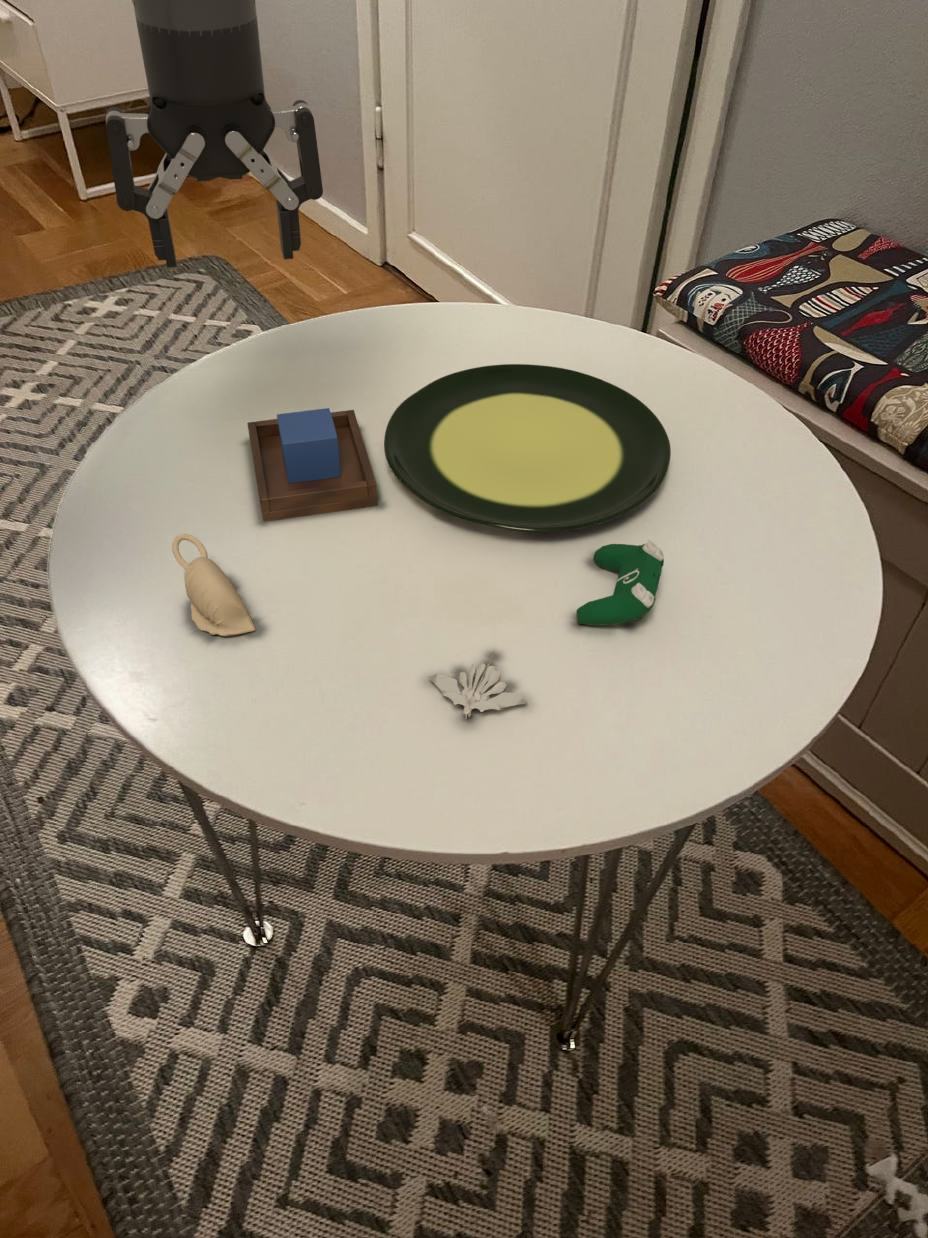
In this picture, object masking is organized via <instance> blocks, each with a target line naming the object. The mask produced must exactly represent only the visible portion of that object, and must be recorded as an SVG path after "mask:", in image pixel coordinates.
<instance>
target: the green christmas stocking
mask: <svg viewBox="0 0 928 1238" xmlns="http://www.w3.org/2000/svg"><path fill="white" fill-rule="evenodd" d="M664 556H665V555H664V553H663V551H662V550H661V548H660V547H659V546H658V545H657V544H656V543H654V542H653V541H652V540H650V539H649V540H647V542H646V543H643V544H638V545H635V544H625V543H610V544H605V545H602V546H601V547H600V548H598V549H597V550H595V552H594V553H593V560H594V563H595V564H596V565H597V566H598V567H600V568H602V569H605V570H609V571H612V572H617V573H618V576H617V579H616V583H615V587H614V589H613V590H614V591H613V594H612V595H609V596H605V597H601V598H598V599H594V600H590V601H588V602H586V603H584V604H583V605H581V606H579V607H578V608H577V609H576V616H577V618H576V619H577V623H578V624H580V625H587V626H612V625H619V624H626V623H630V622H632V621H635V620H636V621H639V620H641V619H642V618H643V616H644V615H646V614H647V613H648V612H650V611H651V610H652V608H653V607H654V605H655V602H656V598H655V597H656V594H657V592H658V588H659V584H660V580H661V576H662V572H663V571H662V570H663V567H664V565H665V564H664V563H665V557H664Z"/></svg>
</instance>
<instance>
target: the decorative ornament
mask: <svg viewBox="0 0 928 1238" xmlns="http://www.w3.org/2000/svg"><path fill="white" fill-rule="evenodd" d="M182 541H188V542H190V543H192V544H193V545H194V546H195V547H196V549H197V551H198V552H199V555H200V556H198V557H196V558H194V559H193V560H192V561H191V562H190V563H188V562H187V561H185V559H184V558H183V556H182V554H181V552H180V547H179V546H180V543H181V542H182ZM171 550H172V554H173V557H174V559H175V561H176V562H177V564H178V565H179V566H180V567H182V568H183V569H184V570H185V571H184V587H185V592H186V596H187V598H188V599H189V600H190V603H191V604H190V609H191V615H190V617H191V620H192V621H193V622H194V623H195V625H196V627H197V629H199V630H200V631H202V632H206V633H207V632H208V633H209V634H210V635H211V636H214V635H218V636H221V637H228V636H236V635H237V636H238V635H241V634H245V633H250V632H255V631H257V630H256V629H257V628H256V627H255V624H254V622H253V620H252V617H251V615H250V613H249V610H248V608H247V606H246V604H245V603H244V601H243V599H242V598H241V596H240V595H239V593H238V592H237V590H236V588H235V587H234V585H233V584H232V582H231V581H230V579H229V578H228V576H227V575H226V573H225V572H224V571H223V570H222V568H221V567H220V566H219V565H218V564H217V563H216V562H215V561H214V560H212V559H211V558H209V556H208V555H209V554H208V552H207V550H206V548H205V546H204V544H203V543H202V542H201V541H200V540H199V539H198V538H197V537H195V536H194V535H192V534H189V533H181V534H178V535H177V536H176V537H175V538H174V539H173V541H172V545H171Z"/></svg>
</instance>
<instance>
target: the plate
mask: <svg viewBox="0 0 928 1238" xmlns="http://www.w3.org/2000/svg"><path fill="white" fill-rule="evenodd" d="M383 449H384V456H385V459H386V462H387V464H388V466H389V468H390V470H391V471H392V472H393V474H394V475H395V476H396V478H397V479H398V481H399V482H400V483H401V484H402V485H403V486H404V487H405V488H406V489H407V490H408V491H409V492H410V493H411V494H413V495H414V496H415V497H416V498H418V499H419V500H421V501H423V502H424V503H425V504H427V505H429V506H430V507H432V508H434V509H435V510H438V511H440V512H442V513H444V514H447V515H448V516H452V517H454V518H456V519H459V520H463V521H466V522H470V523H473V524H478V525H483V526H487V527H492V528H498V529H504V530H509V531H514V532H515V531H517V532H526V533H552V532H565V531H572V530H579V529H584V528H588V527H593V526H596V525H601V524H604V523H606V522H610V521H612V520H614V519H617V518H619V517H622V516H624V515H626V514H628V513H630V512H631V511H633V510H635V509H636V508H638V507H640V506H641V505H643V504H644V503H645V502H646V501H647V500H649V499H650V498H651V497H653V495H654V494H655V493H656V492H657V490H659V488H660V487H661V485H662V483H664V480H665V478H666V475H667V473H668V470H669V466H670V462H671V454H672V452H671V451H672V449H671V442H670V438H669V435H668V433H667V431H666V429H665V427H664V425H663V424H662V422H661V421H660V419H659V418H658V416H657V415H656V414H655V413H654V412H653V411H652V410H651V408H649V407H648V406H647V405H646V403H645V404H644V402H642V401H641V400H639V398H638V397H636V396H634V395H633V394H632V393H629V392H628V391H626V390H624V389H623V388H621V387H619V386H618V385H615V384H613V383H610V382H609V381H606V380H603V379H601V378H599V377H595V376H593V375H590V374H587V373H585V372H581V371H577V370H572V369H569V368H564V367H559V366H553V365H551V366H550V365H541V364H530V363H529V364H526V363H504V364H503V363H502V364H492V365H491V364H490V365H484V366H478V367H473V368H467V369H464V370H460V371H455V372H452V373H449V374H447V375H444V376H442V377H439V378H437V379H435V380H433V381H431V382H429V383H428V384H426V385H425V386H424V387H422V388H420V389H418V390H416V391H415V392H414V393H412V394H411V395H410V396H408V397H407V398H406V399H404V400H403V401H402V402H401V403H400V404H398V407H396V409H394V412H392V414H391V417H390V418H389V420H388V422H387V424H386V427H385V432H384V439H383Z"/></svg>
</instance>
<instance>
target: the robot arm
mask: <svg viewBox="0 0 928 1238" xmlns="http://www.w3.org/2000/svg"><path fill="white" fill-rule="evenodd" d="M131 3H132V5H133V11H134V17H135V22H136V28H137V34H138V38H139V44H140V45H139V46H140V50H141V57H142V62H143V67H144V72H145V73H144V74H145V78H146V83H147V90H148V95H149V107H148V111H147V112H146V113H130V112H129V113H128V112H124V111H123V110H122V109H121V108H119V107H117V106H112V107H109V108H108V109H107V110H106V112H105V131H106V132H105V133H106V138H107V145H108V151H109V157H110V163H111V171H112V177H113V183H114V191H115V197H116V203H117V206H118V207H119V209H121V210H122V211H125V212H131V211H135V212H139V213H140V214H142V215H144V216H145V217H146V219H147V221H148V226H149V231H150V237H151V241H152V246H153V252H154V255H155V256H156V258H157V260H158V261H165V263H166V267H167V269H171V268H178V265H177V264H178V263H177V256H176V255H177V254H176V249H175V244H174V239H173V233H172V227H171V221H170V217H169V211H168V207H169V205H170V204H171V202H172V201H173V200H172V199H173V198H174V196H175V195H177V194H178V192H179V191H180V189H181V187H182V186H183V184H184V182H185V180H186V179H187V177H189V178H192V179H196V182H210V181H213V180H215V179H218V178H221V179H227V180H233V181H234V180H243V176H246V175H247V174H249V173H250V172H251V174H252V175H253V176H254V177H255V178H256V179H257V180H258V181H259V182H260V184H261V185H262V186H263V187H264V188H265V189H266V190H268V191H269V192H270V193H271V194H272V195H273V197H274V198H275V199H276V200H275V203H276V204H275V205H276V213H277V224H278V232H279V244H280V250H281V254H282V255H281V256H282V258H283V260H294V252H299V251H300V249H301V245H302V239H301V228H300V215H299V210H300V207H301V205H302V204H304V203H305V202H307V201H310V200H312V201H317V200H319V199H321V198H322V197H323V193H324V189H323V188H324V187H323V181H322V180H323V179H322V172H321V165H320V157H319V156H320V155H319V148H318V147H319V146H318V140H317V133H316V124H315V117H314V115H313V113H312V110H311V108H310V106H309V103H307V102H306V101H305V100H303V99H297V100H295V101H294V102H293V103H292V105H291V106H281V107H270V105H269V103H268V101H267V98H266V94H265V92H266V91H265V83H264V82H265V81H264V72H263V64H262V54H261V45H260V34H259V32H260V31H259V25H258V15H257V5H256V0H131ZM276 128H280V129H281V130H283V132H284V134H285V137H286V139H287V140H288V141H289V142H291V143H296V148H297V156H298V162H299V170H300V176H299V177H296V178H294V179H291V180H290V179H289V178H288V177H287V176H286V175H285V173H284V172H283V171H282V169H280V168H279V166H278V165H277V164H276V162H275V160H274V159H273V158H272V157H271V156H270V154H269V153H268V152H267V151H266V150H265V148H266V146H267V144H268V143H269V141H270V139H271V137H272V135H273V134H274V132H275V129H276ZM145 134H149V135H150V137H151V138H152V140H154V142H155V143H157V145H158V146H159V147H160V148H161V149H162V150H163V151H164V152H165V154H164V155H163V158H162V159H161V161H160V163H159V165H158V167H157V170H156V172H155V174H154V177H153V178H152V180H151V182H150V184H149V186H148V188H145V187H141V186H138V185H135V180H134V179H135V178H134V174H133V166H132V159H131V158H132V157H131V151H136V150H137V149H139V147H140V144H141V138H142V136H143V135H145Z"/></svg>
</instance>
